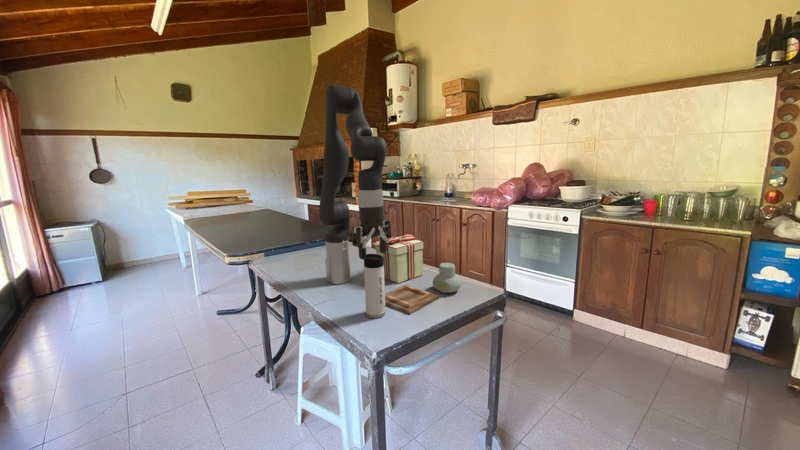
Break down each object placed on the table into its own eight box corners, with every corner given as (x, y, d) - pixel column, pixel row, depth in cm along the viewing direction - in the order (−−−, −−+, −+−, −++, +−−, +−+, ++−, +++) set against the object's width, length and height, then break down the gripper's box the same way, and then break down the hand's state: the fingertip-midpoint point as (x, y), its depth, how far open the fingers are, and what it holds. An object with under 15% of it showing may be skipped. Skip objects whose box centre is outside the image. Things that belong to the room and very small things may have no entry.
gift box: (395, 265, 152) (395, 229, 149) (425, 274, 139) (425, 235, 136) (367, 274, 141) (366, 236, 137) (397, 286, 128) (396, 243, 124)
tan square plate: (375, 300, 115) (375, 295, 114) (405, 287, 126) (405, 282, 126) (410, 314, 104) (410, 308, 104) (439, 298, 116) (439, 292, 115)
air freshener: (429, 290, 123) (428, 265, 121) (440, 283, 129) (440, 259, 127) (454, 297, 116) (455, 270, 114) (465, 289, 123) (465, 264, 121)
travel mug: (365, 310, 108) (362, 252, 104) (385, 309, 108) (383, 251, 104) (364, 319, 102) (362, 258, 98) (385, 318, 102) (383, 257, 98)
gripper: (379, 201, 105) (381, 249, 109) (344, 206, 95) (347, 259, 98) (396, 202, 101) (397, 252, 104) (361, 208, 90) (364, 264, 93)
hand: (373, 255), depth 101 cm, fingers open, 8 cm apart
